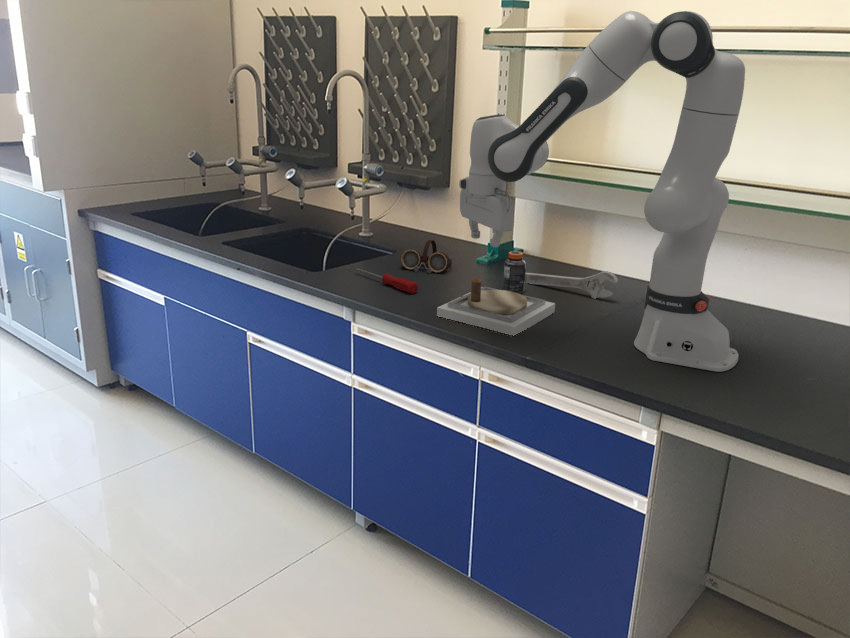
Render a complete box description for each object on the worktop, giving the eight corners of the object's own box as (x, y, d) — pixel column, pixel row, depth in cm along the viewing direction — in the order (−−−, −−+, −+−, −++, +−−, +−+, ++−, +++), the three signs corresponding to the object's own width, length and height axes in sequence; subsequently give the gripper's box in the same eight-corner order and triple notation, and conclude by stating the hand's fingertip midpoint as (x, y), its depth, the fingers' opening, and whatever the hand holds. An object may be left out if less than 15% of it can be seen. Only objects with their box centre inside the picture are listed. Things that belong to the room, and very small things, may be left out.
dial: (511, 293, 192) (513, 268, 189) (536, 311, 178) (539, 285, 176) (459, 297, 187) (460, 272, 185) (481, 316, 174) (482, 290, 172)
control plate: (554, 312, 186) (555, 299, 185) (513, 336, 169) (514, 323, 168) (481, 295, 198) (482, 283, 197) (436, 316, 181) (437, 303, 180)
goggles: (397, 269, 219) (400, 237, 218) (411, 268, 232) (413, 237, 230) (445, 275, 215) (449, 242, 214) (456, 273, 227) (459, 242, 226)
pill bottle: (526, 290, 204) (529, 251, 200) (520, 295, 199) (523, 256, 195) (506, 287, 206) (509, 248, 202) (499, 292, 201) (502, 253, 197)
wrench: (522, 290, 213) (618, 300, 195) (519, 291, 212) (615, 302, 194) (521, 263, 211) (618, 271, 193) (518, 265, 210) (615, 273, 192)
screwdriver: (361, 273, 216) (361, 262, 215) (419, 293, 199) (419, 281, 198) (352, 275, 214) (352, 264, 212) (410, 295, 197) (410, 283, 196)
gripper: (522, 191, 163) (518, 250, 167) (478, 178, 180) (476, 232, 185) (498, 193, 160) (495, 253, 165) (455, 179, 177) (454, 234, 182)
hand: (484, 242), depth 175 cm, fingers open, 8 cm apart
